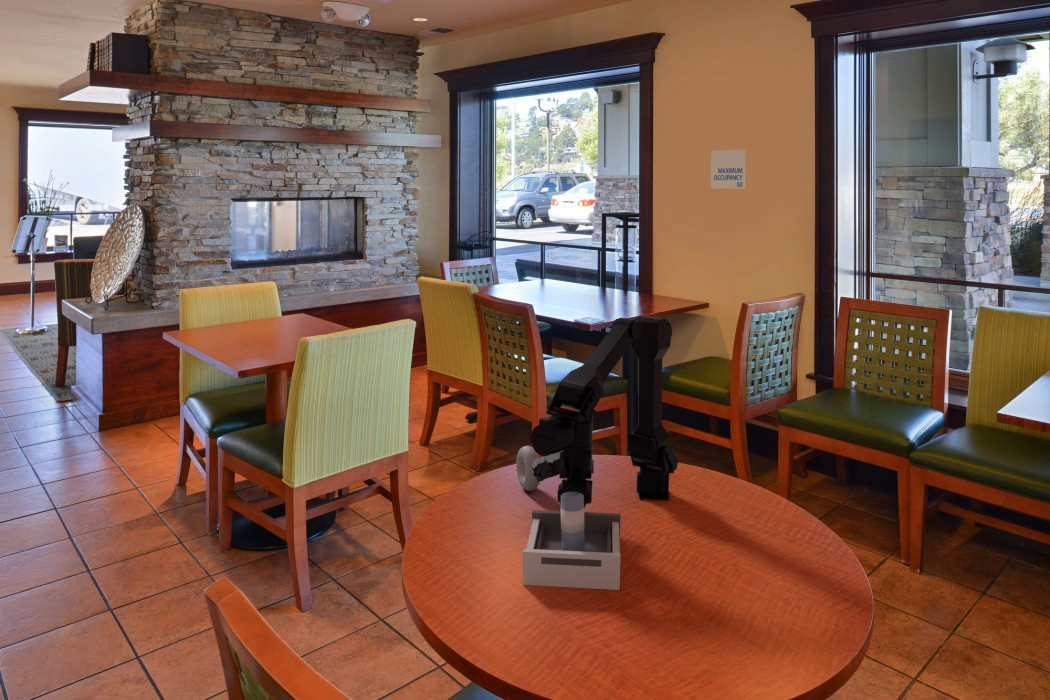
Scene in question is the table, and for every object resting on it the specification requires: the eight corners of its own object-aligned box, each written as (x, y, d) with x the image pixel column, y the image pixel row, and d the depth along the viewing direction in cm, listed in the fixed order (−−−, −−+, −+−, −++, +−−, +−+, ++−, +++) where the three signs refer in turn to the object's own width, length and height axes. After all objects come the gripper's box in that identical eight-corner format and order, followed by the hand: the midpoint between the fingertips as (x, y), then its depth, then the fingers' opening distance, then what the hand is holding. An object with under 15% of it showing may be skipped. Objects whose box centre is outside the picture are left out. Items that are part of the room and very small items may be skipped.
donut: (543, 496, 172) (543, 453, 170) (528, 498, 171) (528, 454, 169) (528, 481, 181) (528, 439, 179) (514, 482, 180) (514, 440, 178)
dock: (533, 538, 151) (533, 508, 150) (618, 542, 150) (619, 512, 148) (522, 584, 133) (522, 551, 132) (619, 589, 132) (620, 556, 130)
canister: (585, 555, 141) (585, 492, 138) (583, 566, 137) (582, 501, 135) (563, 554, 142) (561, 491, 139) (560, 564, 138) (558, 500, 135)
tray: (532, 532, 153) (532, 510, 152) (619, 536, 151) (620, 513, 150) (522, 578, 135) (522, 552, 134) (621, 583, 133) (621, 557, 132)
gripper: (539, 427, 160) (539, 500, 163) (530, 457, 142) (529, 538, 145) (594, 429, 159) (593, 502, 162) (592, 460, 141) (590, 542, 144)
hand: (575, 520), depth 153 cm, fingers closed
